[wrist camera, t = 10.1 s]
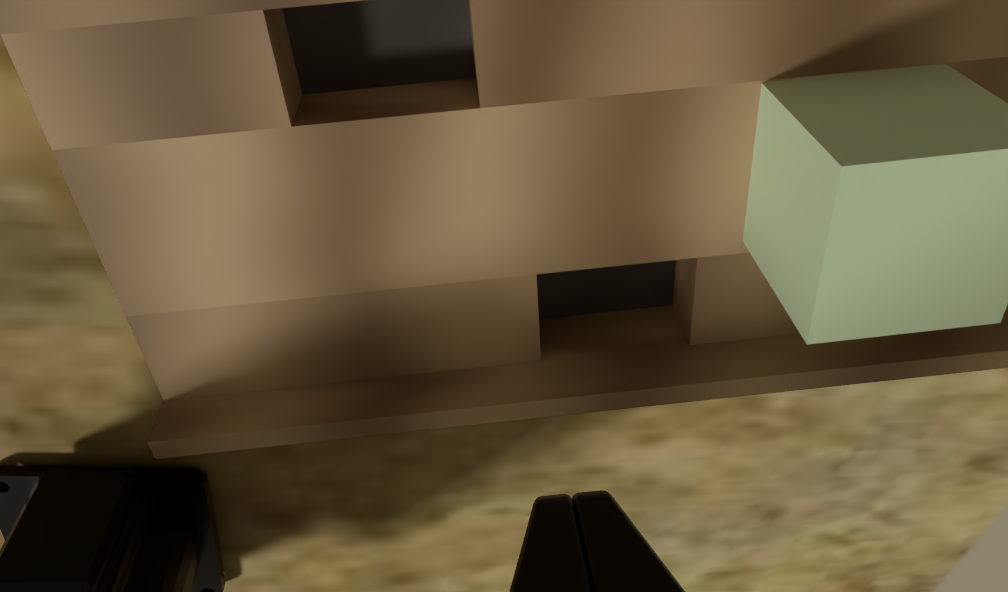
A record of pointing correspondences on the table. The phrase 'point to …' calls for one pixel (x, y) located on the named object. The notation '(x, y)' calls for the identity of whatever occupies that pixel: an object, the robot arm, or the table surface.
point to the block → (881, 202)
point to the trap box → (455, 200)
